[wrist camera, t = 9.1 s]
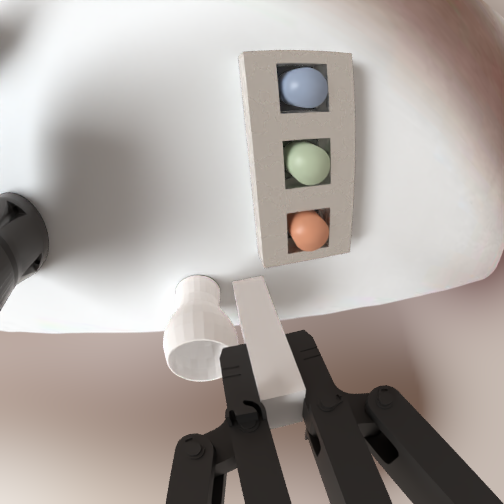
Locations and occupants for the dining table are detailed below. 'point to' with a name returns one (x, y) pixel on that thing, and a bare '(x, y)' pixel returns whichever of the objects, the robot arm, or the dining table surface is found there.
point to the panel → (297, 128)
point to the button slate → (302, 87)
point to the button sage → (306, 162)
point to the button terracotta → (307, 229)
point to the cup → (197, 331)
